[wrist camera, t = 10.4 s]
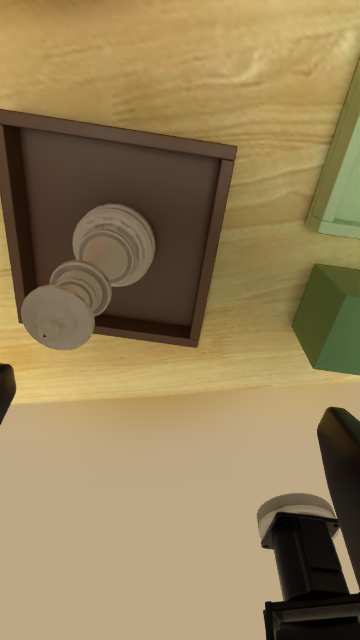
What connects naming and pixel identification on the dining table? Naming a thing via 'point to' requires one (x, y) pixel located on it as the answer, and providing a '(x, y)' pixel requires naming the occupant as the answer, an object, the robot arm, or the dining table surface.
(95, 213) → the chess piece
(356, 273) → the green block
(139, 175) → the walnut tray
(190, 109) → the dining table surface
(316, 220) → the green tray
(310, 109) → the dining table surface
